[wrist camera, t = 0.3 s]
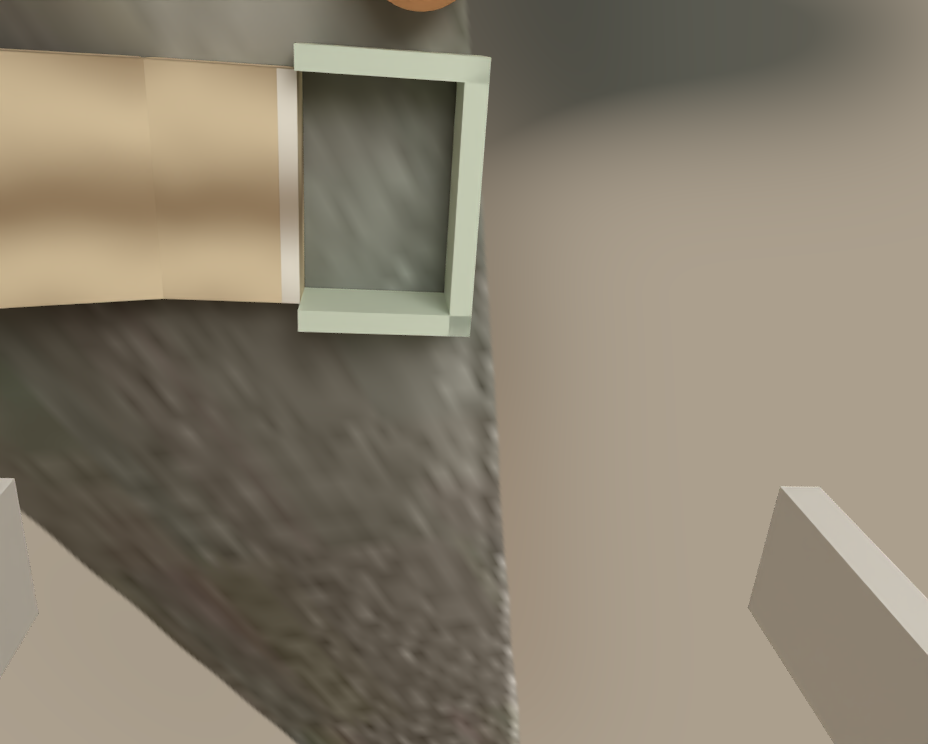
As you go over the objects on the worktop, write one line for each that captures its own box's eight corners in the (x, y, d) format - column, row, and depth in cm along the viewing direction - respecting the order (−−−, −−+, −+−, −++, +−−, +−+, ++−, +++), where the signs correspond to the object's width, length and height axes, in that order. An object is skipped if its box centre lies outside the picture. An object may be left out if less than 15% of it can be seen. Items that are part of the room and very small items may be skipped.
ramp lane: (-47, 43, 32) (-117, 44, 28) (302, 67, 34) (289, 72, 30) (-7, 275, 36) (-63, 310, 32) (304, 287, 38) (294, 321, 33)
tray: (302, 42, 34) (293, 43, 31) (481, 55, 35) (491, 57, 31) (305, 306, 38) (297, 331, 35) (462, 312, 39) (469, 336, 36)
